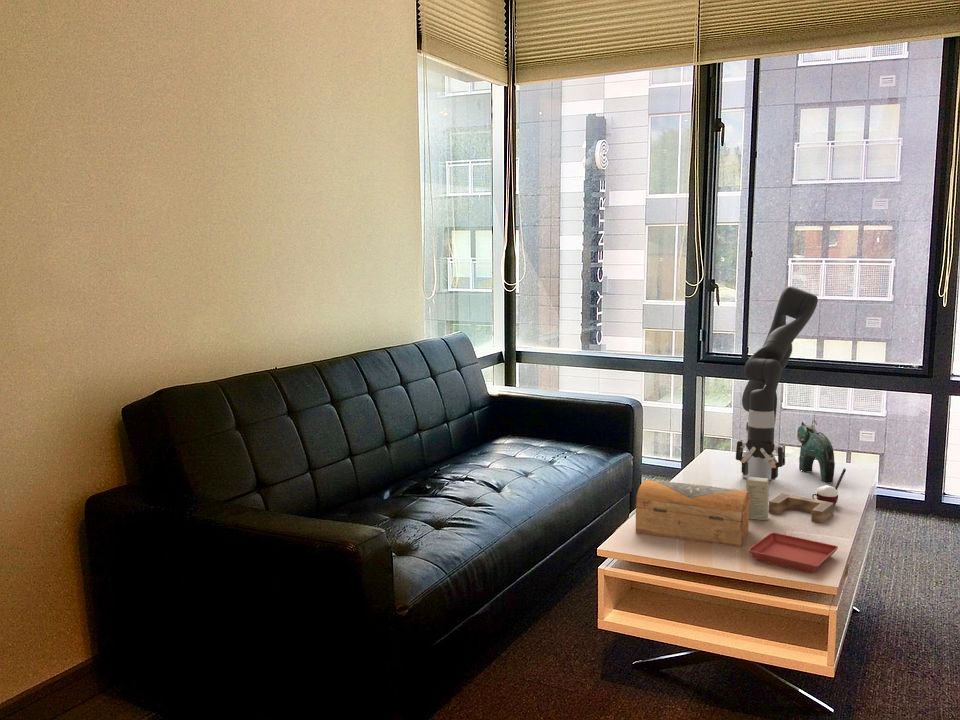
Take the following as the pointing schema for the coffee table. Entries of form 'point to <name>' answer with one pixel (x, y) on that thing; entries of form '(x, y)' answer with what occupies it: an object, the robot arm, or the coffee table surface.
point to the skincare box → (758, 497)
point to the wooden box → (693, 512)
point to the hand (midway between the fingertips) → (759, 477)
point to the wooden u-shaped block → (802, 506)
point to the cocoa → (829, 491)
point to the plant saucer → (792, 552)
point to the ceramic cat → (816, 451)
